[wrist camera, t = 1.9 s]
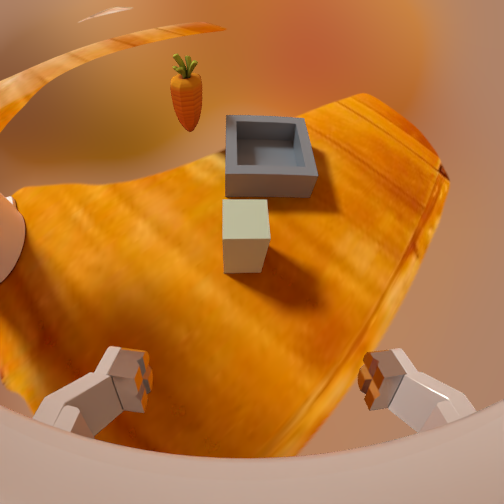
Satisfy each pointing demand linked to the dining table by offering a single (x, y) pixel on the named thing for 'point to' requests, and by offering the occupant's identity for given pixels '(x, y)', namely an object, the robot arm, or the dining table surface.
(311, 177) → the gray open box
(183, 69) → the carrot
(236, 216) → the sage block
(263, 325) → the dining table surface
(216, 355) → the dining table surface
